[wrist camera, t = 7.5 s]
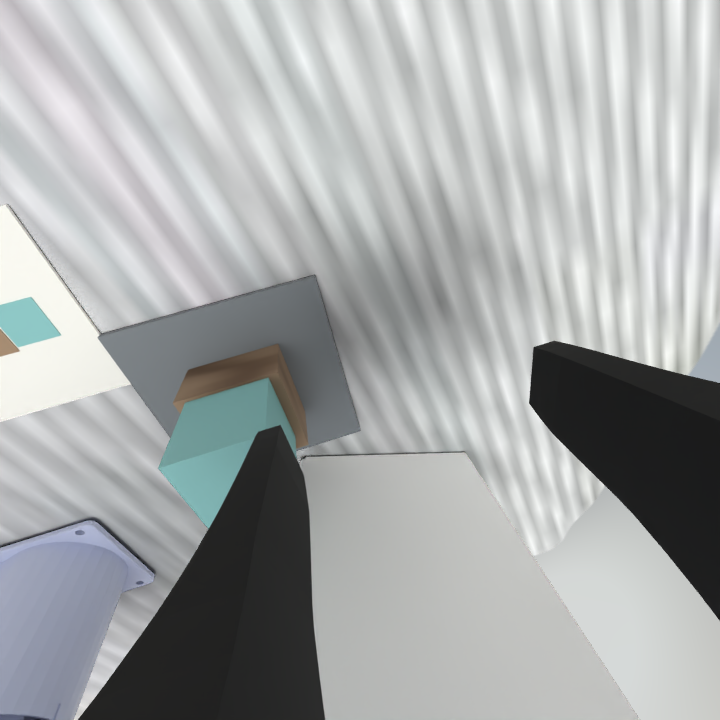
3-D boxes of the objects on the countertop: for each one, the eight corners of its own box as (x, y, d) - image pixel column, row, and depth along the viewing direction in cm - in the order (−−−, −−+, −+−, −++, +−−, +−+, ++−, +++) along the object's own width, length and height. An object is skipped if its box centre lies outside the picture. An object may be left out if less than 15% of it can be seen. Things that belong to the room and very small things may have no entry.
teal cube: (222, 459, 18) (208, 529, 14) (185, 402, 15) (158, 468, 12) (295, 436, 18) (298, 499, 14) (268, 377, 16) (264, 435, 12)
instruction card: (2, 419, 18) (-1, 422, 17) (-178, 250, 13) (-185, 251, 13) (135, 381, 18) (133, 383, 18) (7, 204, 13) (4, 205, 13)
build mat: (202, 475, 22) (201, 480, 22) (100, 334, 16) (97, 337, 16) (359, 426, 23) (360, 430, 23) (314, 274, 17) (315, 276, 17)
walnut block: (227, 435, 20) (219, 472, 18) (188, 369, 18) (172, 402, 15) (305, 411, 21) (308, 444, 18) (277, 343, 18) (277, 372, 16)
